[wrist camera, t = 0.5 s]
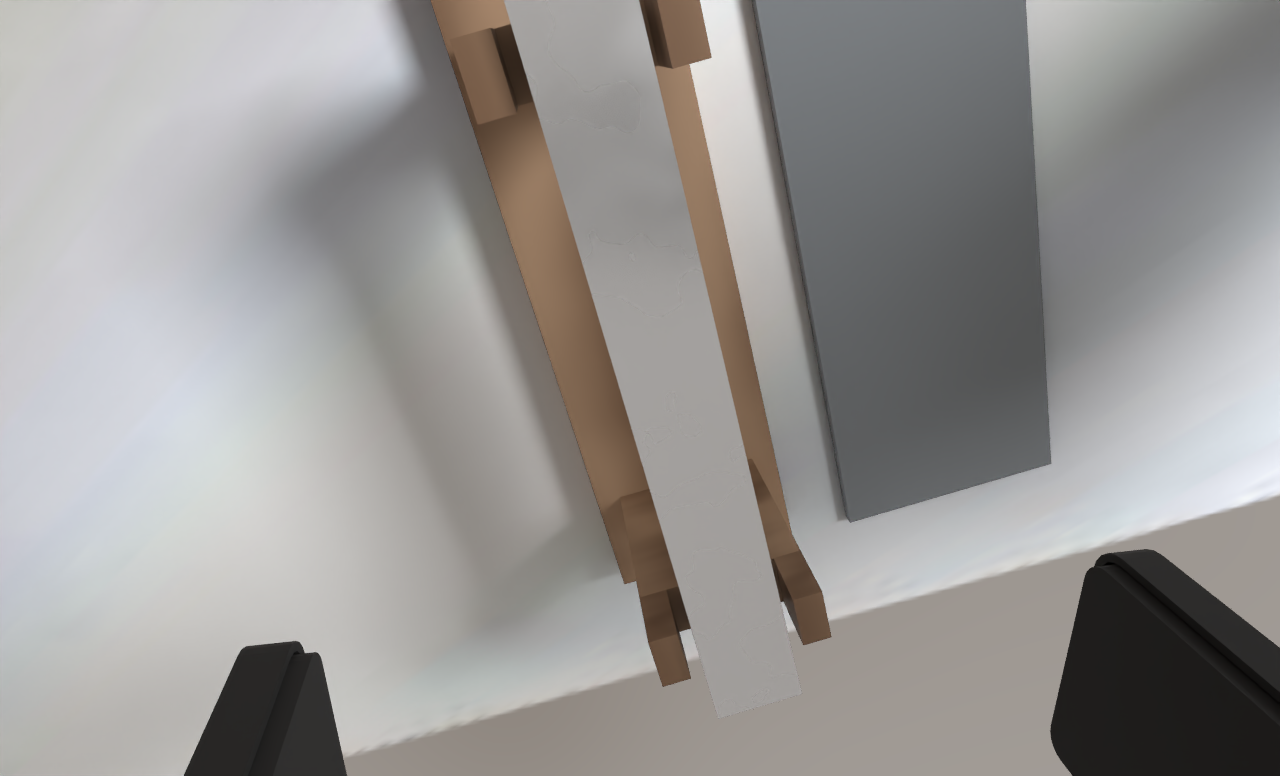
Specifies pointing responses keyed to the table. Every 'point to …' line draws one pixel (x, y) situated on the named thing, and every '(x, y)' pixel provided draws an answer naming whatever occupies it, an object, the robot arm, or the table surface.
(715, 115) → the table surface
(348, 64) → the table surface
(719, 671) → the steel rail
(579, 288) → the walnut rail stand
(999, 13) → the rubber mat
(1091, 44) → the table surface
